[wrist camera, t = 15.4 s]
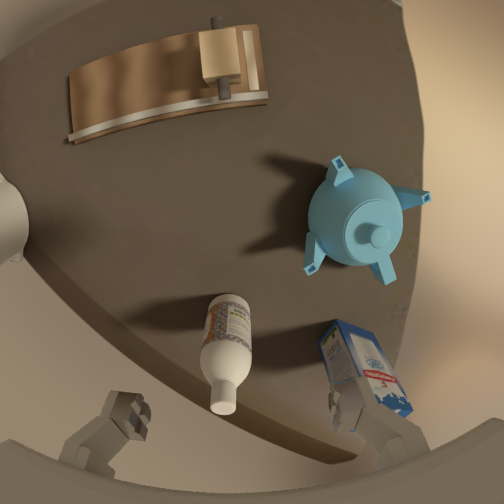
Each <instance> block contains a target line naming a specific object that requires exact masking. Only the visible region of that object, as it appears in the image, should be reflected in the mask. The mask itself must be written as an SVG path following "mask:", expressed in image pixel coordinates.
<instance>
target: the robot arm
mask: <svg viewBox="0 0 504 504" xmlns="http://www.w3.org/2000/svg"><path fill="white" fill-rule="evenodd" d="M28 234H29V220H28V214H27V210H26V206H25V203H24V201H23V198H22V196H21V195H20V193H19V191H18V190H17V189H16V188H15V187H14V186H13V185H12V184H10V183H9V182H7V181H6V180H5V178H4V177H3V175H2V174H1V173H0V266H1V265H3V264H4V263H5V262H7V261H12V262H20V261H22V259H23V249H24V246H25V244H26V242H27V239H28ZM330 390H331V393H329V398H328V402H329V409H330V413H331V414H332V415H333V416H334V418H333V425H334V428H335V432H336V433H342V432H347V431H351V430H355V431H356V432H357V433H358V434H359V435H360V436H361V437H362V438H364V439H365V440H366V441H367V442H368V443H369V444H371V445H372V446H373V447H374V448H375V449H376V450H378V451H379V452H380V455H379V456H378V458H377V459H376V460H375V462H374V463H373V467H374V471H375V472H373V473H369V474H366V475H362V476H358V477H355V478H351V479H347V480H343V481H338V482H334V483H329V484H324V485H318V486H313V487H306V488H300V489H292V490H283V491H273V492H259V493H205V492H191V491H180V490H171V489H164V488H157V487H151V486H145V485H140V484H135V483H130V482H126V481H121V480H117V479H114V475H115V471H114V469H113V468H111V467H110V466H109V465H108V464H107V463H108V462H109V461H110V460H111V459H112V458H113V457H114V456H115V455H116V454H117V453H118V452H119V451H120V450H121V449H122V447H123V446H124V445H125V444H126V443H127V442H128V441H129V439H131V440H140V441H145V440H146V435H147V431H148V429H147V427H146V425H147V424H148V423H149V422H150V419H151V410H150V407H149V405H148V404H147V403H146V402H144V401H143V400H144V397H143V396H142V394H139V393H129V392H121V391H110V392H109V394H108V396H107V399H106V401H105V404H104V406H103V408H102V411H101V414H100V416H99V417H95V418H94V419H93V420H92V421H90V422H89V423H88V424H86V425H85V426H84V427H83V428H81V429H80V430H79V431H77V432H76V433H75V434H73V435H72V436H71V437H69V438H68V439H67V440H66V441H65V443H64V446H63V448H62V451H61V454H60V456H59V459H58V460H55V459H53V458H51V457H48V456H46V455H44V454H41V453H39V452H37V451H35V450H33V449H31V448H29V447H27V446H24V445H23V444H21V443H19V442H17V441H15V440H12V439H8V440H6V441H4V442H2V443H1V444H0V504H504V420H501V419H497V418H490V419H488V420H486V421H485V422H483V423H482V424H480V425H478V426H477V427H475V428H473V429H472V430H470V431H469V432H467V433H465V434H463V435H461V436H460V437H457V438H456V439H454V440H452V441H450V442H448V443H446V444H444V445H442V446H440V447H437V448H436V449H433V450H431V451H430V448H429V446H428V444H427V442H426V439H425V437H424V435H423V432H422V430H421V428H420V427H418V426H416V425H415V424H413V423H412V422H410V421H408V420H407V419H405V418H404V417H402V416H400V415H399V414H397V413H396V412H394V411H393V410H391V409H389V408H388V407H386V406H385V405H383V404H382V403H381V404H378V402H377V399H376V397H375V395H374V392H373V390H372V388H371V385H370V383H369V381H368V378H367V377H366V376H361V377H357V378H351V379H347V380H342V381H337V382H332V383H331V385H330Z"/></svg>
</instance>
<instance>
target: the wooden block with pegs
mask: <svg viewBox="0 0 504 504" xmlns="http://www.w3.org/2000/svg"><path fill="white" fill-rule="evenodd" d="M211 28H212V30H211V31H205V32H199V42H200V53H201V63H202V73H203V79H204V80H205V82H206V83H207V85H208V86H209V87H210V88H211V87H218V96H219V100H227V99H231V90H230V85H234V84H241V72H240V64H239V55H238V46H237V38H236V29H235V28H226V29H224V26H223V17H221V16H215V17H212V18H211Z"/></svg>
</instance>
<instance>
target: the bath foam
mask: <svg viewBox="0 0 504 504" xmlns="http://www.w3.org/2000/svg"><path fill="white" fill-rule="evenodd" d="M251 361H252V347H251V320H250V309H249V306H248V304H247V302H246V301H245V300H244V299H243V298H241V297H239V296H237V295H233V294H223V295H220V296H218V297H216V298H215V299H213V300H212V302H211V303H210V305H209V308H208V313H207V318H206V324H205V329H204V335H203V341H202V346H201V352H200V365H201V369H202V372H203V374H204V376H205V378H206V379H207V381H208V382H209V383H210V384H211V386H212V391H211V403H210V409H211V410H212V411H213V412H214V413H216V414H220V415H228V414H231V413H233V412H234V411H235V409H236V388H237V387H238V386H239V385H240V384H241V383H242V382H243V381H244V379H245V378H246V377H247V375H248V373H249V370H250V367H251Z"/></svg>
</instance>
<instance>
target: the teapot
mask: <svg viewBox="0 0 504 504" xmlns="http://www.w3.org/2000/svg"><path fill="white" fill-rule="evenodd" d="M325 178H326V180H325V181H323V183H322V184H321V185H320V186H319V187H318V189H317V190H316V191H315V193H314V195H313V197H312V200H311V202H310V206H309V211H308V225H309V230H310V232H308V233H307V234H306V245H305V256H304V265H303V268H304V270H305V272H306V273H307V275H308V276H309V275H310V274H312V273H314V272H315V271H317V270H319V269H318V268H319V266H320V264H321V263H322V261H323V259H324V257H325V255H327V256H328V257H330V258H332V259H333V260H335V261H337V262H339V263H342V264H346V265H351V266H363V265H369V266H370V268H371V270H372V272H373V275H374V277H375V278H376V279H377V280H378V281H380V282H381V283H383V284H384V285H387V284H389V283H390V282H392V281H394V280H396V276H395V272H394V269H393V266H392V263H391V260H390V257H389V254H390V253H391V252H392V251H393V250H394V249H395V247H396V246H397V244H398V242H399V240H400V237H401V234H402V227H403V216H402V210H404V209H408V208H411V207H414V206H418V205H421V204H426V203H427V202H429V201H431V195H430V192H428V191H423V190H418V189H412V188H406V187H401V186H394V185H392V186H390V185H389V184H388V183H387V182H386V181H385V180H384V179H383V178H382V177H380V176H379V175H377V174H376V173H374V172H371V171H369V170H366V169H361V168H348V167H347V165H346V164H345V162H344V161H343V159H342V158H341V156H340V155H339V156H337V157H336V158H334V159H332V160H331V161H330V165H329V168H328V171H327V174H326V177H325Z"/></svg>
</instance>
